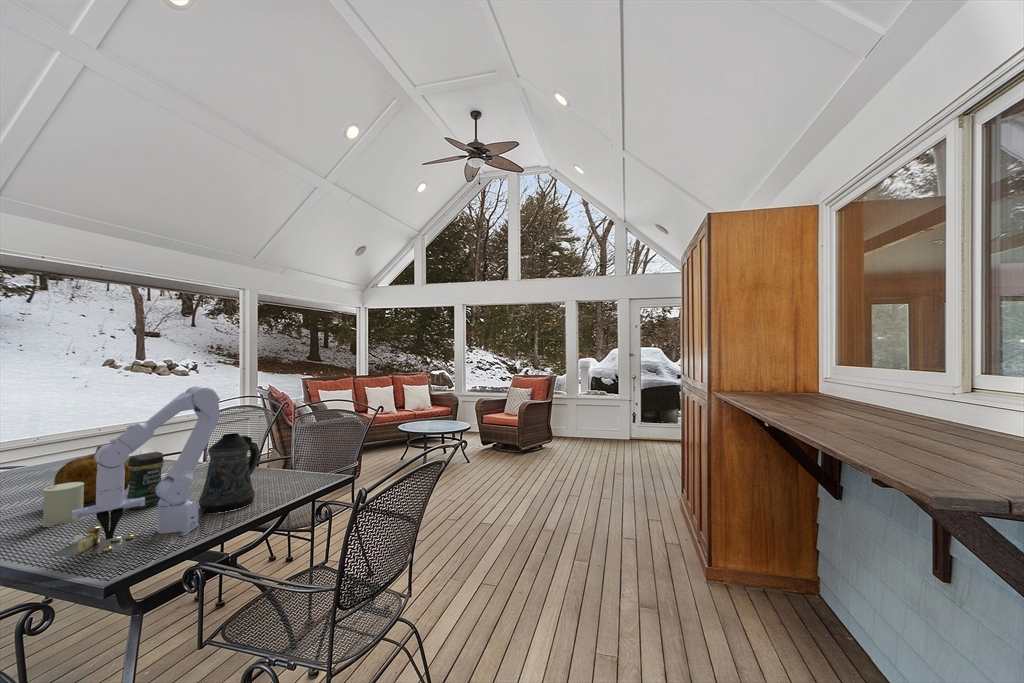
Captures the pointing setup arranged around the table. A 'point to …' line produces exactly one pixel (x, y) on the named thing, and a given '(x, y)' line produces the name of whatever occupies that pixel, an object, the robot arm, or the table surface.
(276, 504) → the table surface
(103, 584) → the table surface
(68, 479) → the decorative pumpkin
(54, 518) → the can
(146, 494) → the coffee jar
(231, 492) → the beer stein
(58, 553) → the base plate
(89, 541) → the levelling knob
